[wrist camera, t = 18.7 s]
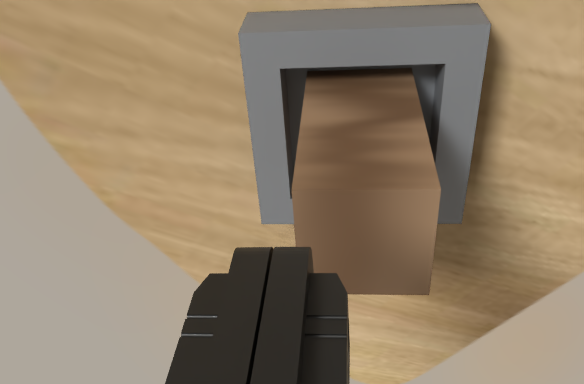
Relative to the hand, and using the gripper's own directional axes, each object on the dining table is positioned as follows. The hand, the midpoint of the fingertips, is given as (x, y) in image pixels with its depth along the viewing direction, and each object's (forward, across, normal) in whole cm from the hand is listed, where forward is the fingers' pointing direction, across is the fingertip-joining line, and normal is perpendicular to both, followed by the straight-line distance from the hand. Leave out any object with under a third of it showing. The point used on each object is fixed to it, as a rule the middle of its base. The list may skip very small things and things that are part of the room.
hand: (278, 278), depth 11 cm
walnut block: (+15, -2, +4) cm, 15 cm away
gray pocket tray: (+15, -2, +4) cm, 16 cm away
